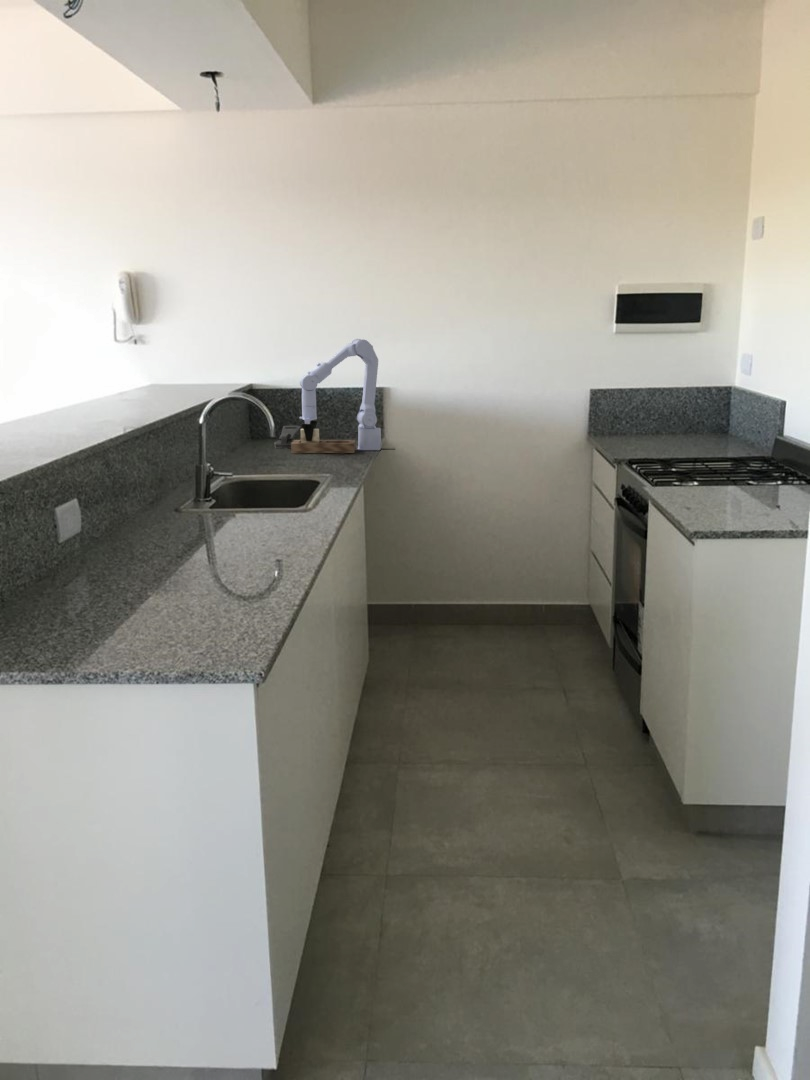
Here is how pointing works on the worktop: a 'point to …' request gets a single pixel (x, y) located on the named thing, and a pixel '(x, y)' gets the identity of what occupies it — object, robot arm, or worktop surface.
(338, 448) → the wooden compartment tray
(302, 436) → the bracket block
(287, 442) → the dark grey angled stand
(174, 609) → the worktop surface
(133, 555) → the worktop surface
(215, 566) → the worktop surface
